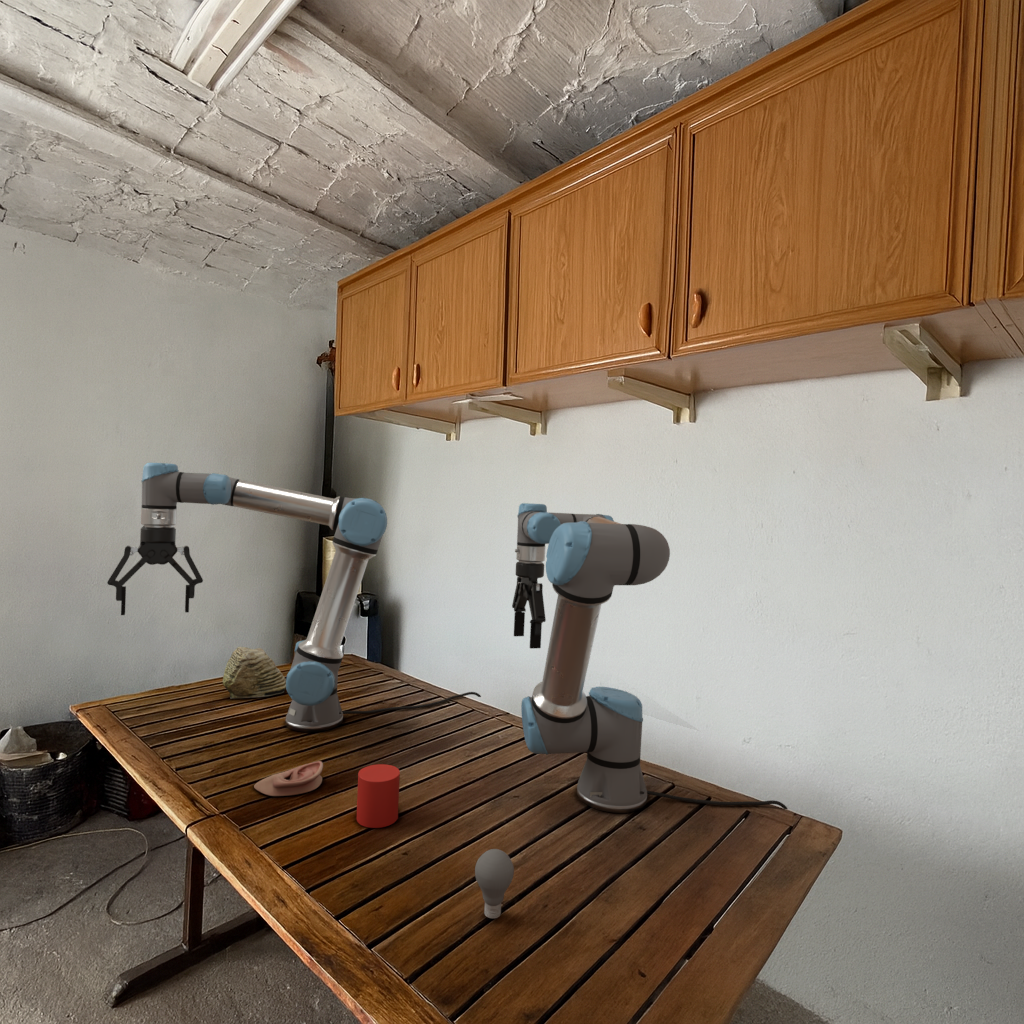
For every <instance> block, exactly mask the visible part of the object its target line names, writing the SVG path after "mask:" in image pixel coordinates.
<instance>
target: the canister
mask: <svg viewBox="0 0 1024 1024" xmlns="http://www.w3.org/2000/svg"><path fill="white" fill-rule="evenodd" d="M400 775H401V770H400V769H399V768H398V767H396V766H394V765H391V764H386V763H385V764H384V763H380V764H379V763H377V764H370V765H367V766H365V767H363V768H361V769H360V770H358V773H357V794H356V795H357V796H356V822H357V823H358V824H359V825H360V826H362V827H365V828H370V829H380V828H385V827H389V826H390V825H393V824H395V822H397V820H398V819H399V804H400V780H401V779H400V778H401V777H400Z"/></svg>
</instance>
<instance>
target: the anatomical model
mask: <svg viewBox="0 0 1024 1024" xmlns="http://www.w3.org/2000/svg"><path fill="white" fill-rule="evenodd" d="M323 768H324V763H323V761H321V760H318V761H312V762H309V763H306V764H303V765H299V766H297V767H294V768H291V769H288V770H286V771H283V772H278V773H275V774H272V775H269V776H267V777H265V778H263V779H260V780H259V781H257V782H256V783H255V784H254V785H253V788H254V789H255V790H256V791H257V792H259V793H261V794H264V795H266V796H268V797H269V796H270V797H284V796H295V795H301V794H305V793H308V792H312V791H315V790H316V789H317V788H319V787H320V786H321V784H322V783H323V777H322V775H321V774H322V771H323Z"/></svg>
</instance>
